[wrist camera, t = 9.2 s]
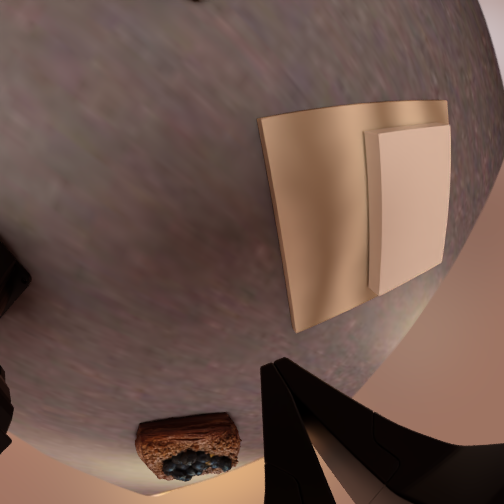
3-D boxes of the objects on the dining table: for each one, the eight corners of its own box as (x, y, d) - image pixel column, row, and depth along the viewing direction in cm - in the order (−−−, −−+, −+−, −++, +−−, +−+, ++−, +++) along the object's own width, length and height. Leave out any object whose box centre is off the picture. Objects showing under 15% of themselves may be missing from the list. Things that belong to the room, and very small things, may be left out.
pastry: (233, 447, 34) (247, 482, 29) (146, 460, 31) (153, 497, 26) (235, 403, 30) (252, 446, 25) (125, 417, 26) (130, 464, 21)
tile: (378, 296, 25) (441, 262, 27) (378, 133, 18) (450, 125, 20) (366, 285, 27) (429, 254, 28) (361, 130, 20) (434, 122, 22)
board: (292, 327, 27) (296, 333, 26) (256, 118, 18) (260, 118, 17) (435, 259, 30) (440, 262, 30) (440, 99, 22) (446, 100, 21)
